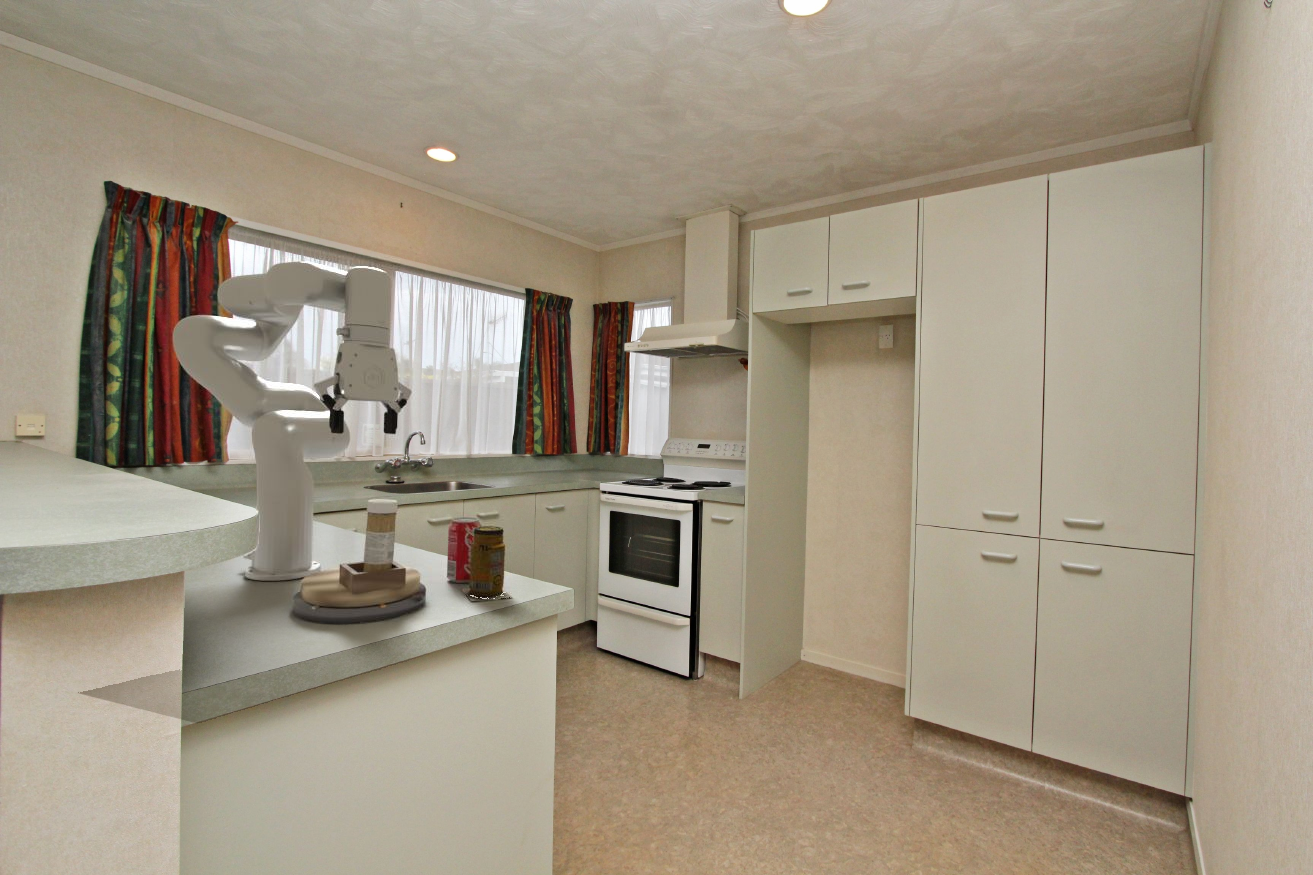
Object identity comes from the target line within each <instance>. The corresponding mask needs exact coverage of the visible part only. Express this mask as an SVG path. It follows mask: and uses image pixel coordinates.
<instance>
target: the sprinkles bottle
mask: <svg viewBox="0 0 1313 875" xmlns="http://www.w3.org/2000/svg"><path fill="white" fill-rule="evenodd" d="M398 505H399V504H398V500H395V499H389V498H378V499H377V498H374V499H369V500H367V503H366V512H367V513H366V514H367V517H366V518H367V519H366V529H365V530H366V531H365V542H364V549H363V550H364V551H363V552H364V553H363V561H364V570H363V572H368V571H376V570H385V569H392V563H393V561H394V553H395V540H396V518H397V517H396V516H397V513H398Z"/></svg>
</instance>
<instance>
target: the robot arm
mask: <svg viewBox="0 0 1313 875" xmlns="http://www.w3.org/2000/svg"><path fill="white" fill-rule="evenodd" d="M391 277H392V276H390V274H389V273H388V272H386V271H385V270H382V269H380V268H376V267H369V266H353V267H350V268H349V269H348V270H347V271H345V270H340V269H337V268H334V267H329V266H327V265H323V264H318V263H315V262H310V261H289V262H288V261H286V262H279V263H275V264H273V265H271V267H269V269H268V270H267V271H266V272H265V273H255V274H253V273H252V274H244V275H243V274H242V275H236V276H232V277H230V278H229V277H228V278H227V279H226V280H224V281H222V283H221V284H220V285H219V287H218V289H217V300H218V302H219V304H220V305H221V307H222V308H223V309H224V310H225V311H226V312H228V313H229V314H231V315H233V316H235V317H237V318H241V319H237V318H229V317H223V316H216V315H207V314H198V315H190V316H187V317H184V318H182V319H181V320H179V321H178V322H177V324H175V326H174V328H173V331H172V344H173V350H174V353H175V355H176V358H177V360H178V361H179V363H180V366H182V369H183V370H184V371H185V372H186V373H187V375H189V377H191V378H193V380H195V382H197V383H198V384H199V385H201V387H203V388H205V389H206V390H207V391H208V392H209V393H210V394H211V395H213V397H215V399H216V400H217V401H218V402H219V403H220V404H221V405H222V406H223V407H224V408H225V409H226V410H227V411H228V412H229V413H230V414H231V415H232V416H233V417H234V418H235V419H236V420H237V421H238V422H239V423H241V424H242V425H244V426H245V427H248V428H251V442H252V443H251V444H252V447H253V452H254V459H255V466H256V467H255V468H256V504H255V505H256V508H255V510H258V511H259V514H260V532H259V544H258V547H257V549H256V550H255V551H253V552H252V553H250V554H248V555H247V556H244V555H243V559H245V560H251V565H250V566H248V567H247V568H246V569H245V570H244V577H246V578H247V579H249V580H252V581H253V580H254V581H262V582H267V581H268V582H274V581H276V582H277V581H288V580H289V581H290V580H296V579H297V580H298V579H302V578H303V579H304V578H305V577H307V576H309V575H311V574H314V573H317V572H320V571H322V569H321V566H322V565H321V563H320V562H318V561H315V560H313V536H314V535H313V532H314V503H315V502H314V501H315V500H314V498H315V493H314V492H315V483H314V479H313V475H312V473H311V470H310V469H309V468H308V465H307V464H306V463H305V460H315V459H316V460H319V459H329V458H334V457H335V458H336V457H337V456H340V455H341V454H343V453H344V452H345V451H346V450H347V449H348V447H349V445H350V441H351V434H350V433H351V432H350V430H349V426H348V424H347V422H346V421H345V411H344V410H342V408H343V407H344V406H345V405H346V404H347V402H348V401H356V402H357V401H359V402H380V403H381V405H383V407H384V408H385V410H386V411H385V412H384V414H383V433H384V434H386V435H387V434H389V435H396V433H397V428H398V416H399V413H400V412H401V411H402V410H403V408H404V407H405V406H406V405H407V403H408V400H409V398H410V396H412V392H413V391H412V390H411V389H410V388H409V387H407V386H405V385H403V384H402V383H400V382H399V371H398V370H399V369H398V362H397V356H396V351H395V348H393V347H391V346H390V344H391V343H390V342H391V319H392V318H391V317H392V315H391V313H392V288H393V287H392V286H393V285H392V284H393V283H392V282H393V281H392V278H391ZM304 306H307V307H314V308H319V309H323V310H328V311H333V312H336V313H337V312H338V313H341V314H344V318H343V319H344V323H343V325H342V327H338V328H336V332H335V334H336V336H340V337H341V338H342V341H343V342H342V343H340V344H339V347H338V350H337V354H336V359H335V366H334V372H333V376H330V377H327V378H326V379H323V380H319V381H317V382H316V383H314V385H313V387H314V390H313V389H311V388H309V387H307V386H305V385H302V384H296V383H285V382H275V381H269V380H268V381H267V380H265V379H263V378H262V377H260V376H259V375H258V374H257V373H256V372H255V371H254V370H253V369H252V368H250V367H249V366H248V365H246V364H245V363H243V362H241V361H246V362H262V361H264V360H266V359H268V358H269V357H271V355H272V354H273V353H274V352H275V351H276V349H277V348H278V347H279V346H280V344H281V343H282V342H283V340H284V339H285V338H286V336H287V335H288V334H289V332H290V331H291V330H292V328H294V327H293V326H294V325H295V324H296V322H297V321H298V319H299V317H300V314H301V311H302V310H303V308H304ZM242 319H245V320H242ZM248 320H252V321H248ZM330 387H332V390H333V395H334V396H333V397H332V396H331V395H330V394H329V392H328V388H330Z"/></svg>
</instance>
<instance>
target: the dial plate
mask: <svg viewBox="0 0 1313 875" xmlns="http://www.w3.org/2000/svg"><path fill="white" fill-rule="evenodd" d="M426 598H427V588H426V585H424V584H423V582H420V589H419V591H418V592H417V593H415V594H414V595H412V596H409V597H407V598H404V599H401V600H398V601H394V602H389V603H384V604H378V605H371V606H361V607H327V606H319V605H314V604H310V603H307V602H305V601H303V600H302V599H301V590H299V591H298V592H296V593H295V595H294V596H293V598H292V614H293V616H295V617H296V618H298V619H300V620H303V621H306V622H310V623H315V624H324V625H326V624H327V625H354V624H355V625H356V624H367V622H368V623H375V622H380V621H386V620H387V621H388V620H392V619H395V618H399V617H402V616H405V615H408V614H410V613H411V614H412V613H413V612H415V611H417V610H419V609H421V608H422V607H423V606H424V605H425V603H426Z"/></svg>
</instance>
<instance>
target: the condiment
mask: <svg viewBox="0 0 1313 875" xmlns="http://www.w3.org/2000/svg"><path fill="white" fill-rule="evenodd" d="M504 532H505V531H504V529H503V528H502V527H500V526H494V525H485V526H483V525H481V527H477V528H475V529H474V537H473V539H474V541H473V543H472V544H471V562H470V582H469V587H466V588H465V587H464V588H461V590H462V592H463V593H464V595H466V597H467V598H468V599H469V600H470V601H471V602H482V601H485V600H486V601H487V600H488V601H497V600H502V599H501V598H506V599H513V597H512V595H511V594H510V593H509V592H508V591H506V590H505V588H504V584H505V583H504V582H505V581H504V580H505V558H506V557H505V556H506V544H505V542H504V541H503V540H504ZM503 592H506V593H503ZM502 593H503V594H502ZM501 594H502V595H504V596H498V595H501ZM470 595H474V596H476V597H478V598H475V597H472V596H470ZM496 596H497V597H496ZM480 597H482V598H487V597H488V598H489V599H488V598H487V599H482V598H480ZM509 597H510V598H509ZM493 598H495V599H493ZM486 601H485V602H486ZM488 601H487V602H488Z"/></svg>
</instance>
